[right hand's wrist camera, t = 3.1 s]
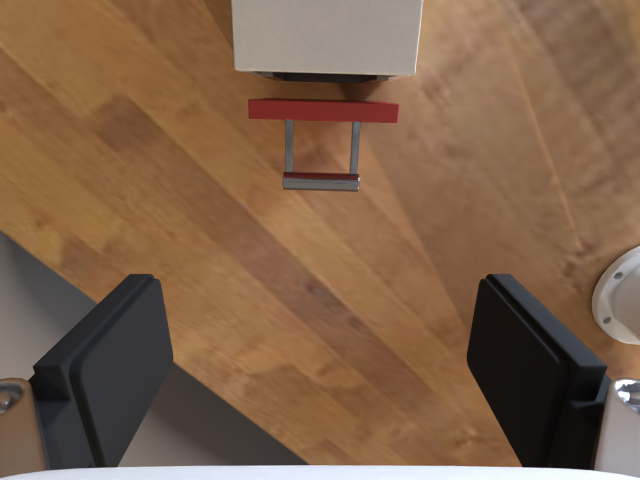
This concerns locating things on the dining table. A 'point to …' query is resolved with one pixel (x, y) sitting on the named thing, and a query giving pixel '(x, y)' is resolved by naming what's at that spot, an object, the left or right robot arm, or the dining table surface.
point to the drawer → (322, 112)
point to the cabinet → (327, 36)
